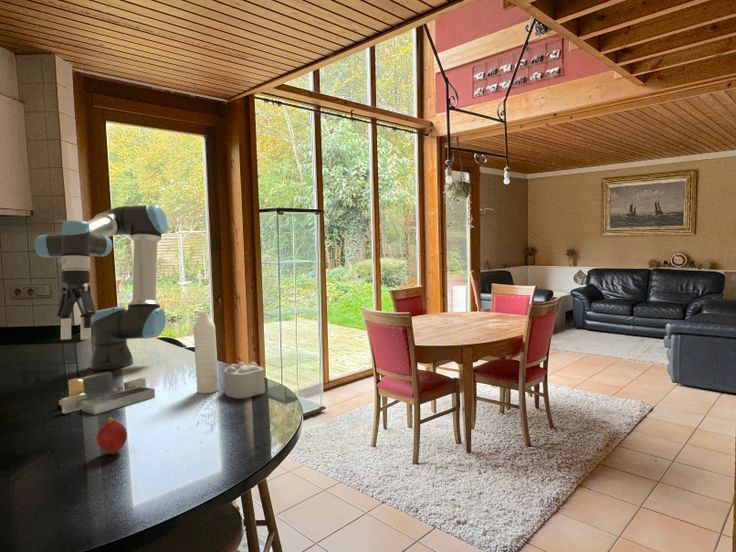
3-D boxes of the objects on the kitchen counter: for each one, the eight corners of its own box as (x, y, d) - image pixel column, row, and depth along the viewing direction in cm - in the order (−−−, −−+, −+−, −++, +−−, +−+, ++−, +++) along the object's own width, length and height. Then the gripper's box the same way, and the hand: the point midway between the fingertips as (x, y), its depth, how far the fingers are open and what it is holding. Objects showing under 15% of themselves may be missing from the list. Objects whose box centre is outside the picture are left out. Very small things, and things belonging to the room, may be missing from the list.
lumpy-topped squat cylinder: (238, 400, 140) (236, 370, 140) (217, 392, 150) (215, 364, 149) (269, 391, 148) (267, 363, 147) (247, 384, 157) (246, 358, 157)
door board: (128, 387, 160) (127, 375, 159) (162, 394, 149) (161, 381, 149) (48, 408, 140) (47, 394, 139) (81, 418, 129) (80, 404, 129)
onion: (105, 449, 108) (103, 413, 107) (132, 447, 108) (130, 412, 108) (92, 460, 102) (90, 423, 101) (121, 458, 102) (118, 421, 102)
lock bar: (107, 393, 153) (106, 371, 153) (114, 394, 151) (113, 372, 151) (67, 403, 143) (65, 380, 143) (74, 405, 141) (72, 382, 141)
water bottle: (221, 391, 150) (217, 311, 149) (200, 395, 147) (195, 313, 145) (213, 385, 157) (209, 309, 156) (192, 389, 154) (188, 311, 153)
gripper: (45, 273, 155) (45, 339, 153) (81, 266, 140) (81, 340, 139) (71, 274, 161) (70, 338, 159) (107, 267, 146) (108, 338, 145)
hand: (75, 339), depth 149 cm, fingers open, 13 cm apart
